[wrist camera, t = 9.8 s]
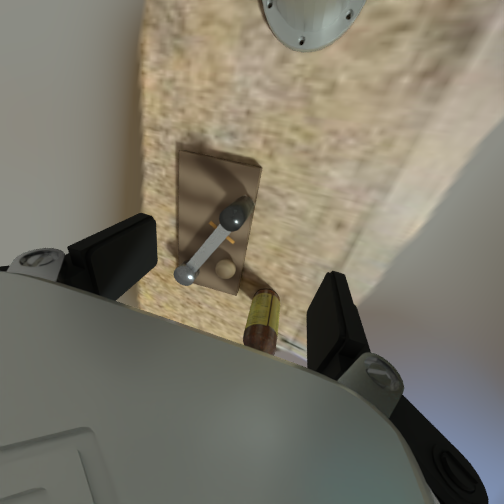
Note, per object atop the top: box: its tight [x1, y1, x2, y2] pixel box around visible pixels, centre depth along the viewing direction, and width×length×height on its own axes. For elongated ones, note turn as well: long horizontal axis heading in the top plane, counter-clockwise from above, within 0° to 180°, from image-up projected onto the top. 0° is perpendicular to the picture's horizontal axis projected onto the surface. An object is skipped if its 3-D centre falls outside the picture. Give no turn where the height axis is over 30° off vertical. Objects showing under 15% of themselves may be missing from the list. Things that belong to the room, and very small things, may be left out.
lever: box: [174, 195, 256, 286], centre depth 36 cm, size 24×4×10 cm, turn 139°
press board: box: [179, 151, 262, 296], centre depth 39 cm, size 27×14×6 cm, turn 169°
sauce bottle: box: [243, 289, 280, 356], centre depth 38 cm, size 7×6×20 cm
